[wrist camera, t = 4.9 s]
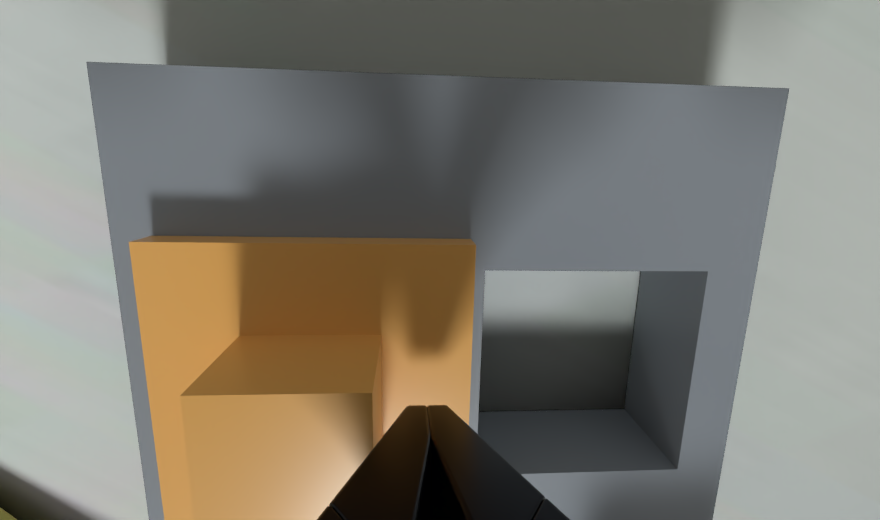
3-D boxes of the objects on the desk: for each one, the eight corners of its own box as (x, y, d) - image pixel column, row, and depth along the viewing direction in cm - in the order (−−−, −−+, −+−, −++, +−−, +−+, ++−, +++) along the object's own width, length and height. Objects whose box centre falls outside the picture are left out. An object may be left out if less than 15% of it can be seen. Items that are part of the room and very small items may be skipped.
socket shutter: (470, 238, 10) (500, 273, 7) (460, 502, 12) (481, 632, 8) (151, 235, 10) (21, 271, 6) (184, 511, 11) (91, 653, 8)
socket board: (702, 106, 13) (789, 88, 10) (644, 515, 16) (698, 595, 13) (166, 87, 12) (86, 61, 9) (212, 531, 15) (163, 623, 12)
